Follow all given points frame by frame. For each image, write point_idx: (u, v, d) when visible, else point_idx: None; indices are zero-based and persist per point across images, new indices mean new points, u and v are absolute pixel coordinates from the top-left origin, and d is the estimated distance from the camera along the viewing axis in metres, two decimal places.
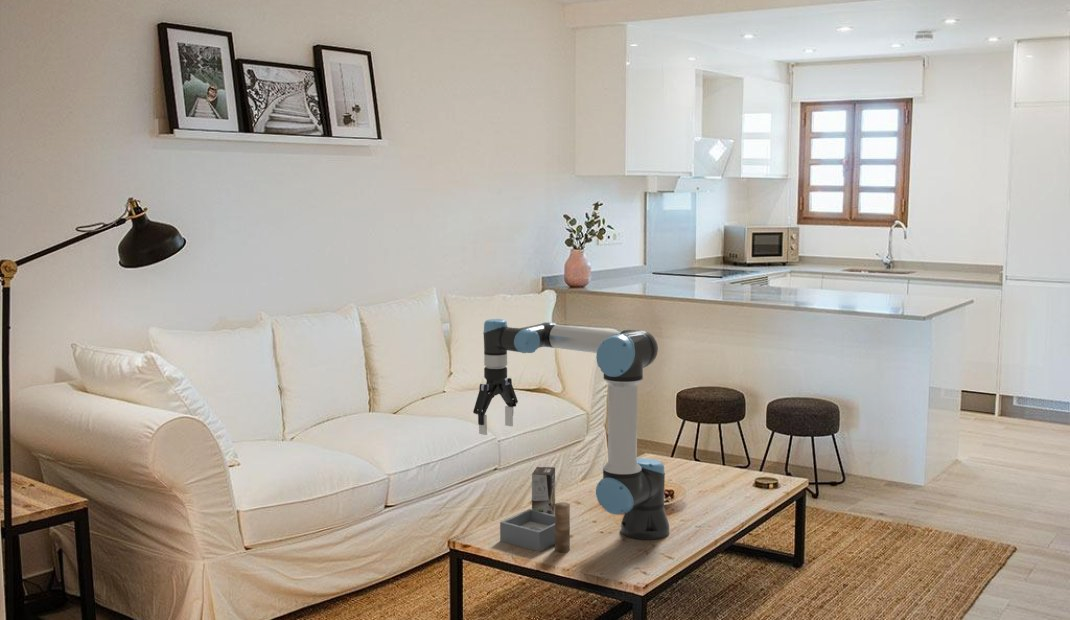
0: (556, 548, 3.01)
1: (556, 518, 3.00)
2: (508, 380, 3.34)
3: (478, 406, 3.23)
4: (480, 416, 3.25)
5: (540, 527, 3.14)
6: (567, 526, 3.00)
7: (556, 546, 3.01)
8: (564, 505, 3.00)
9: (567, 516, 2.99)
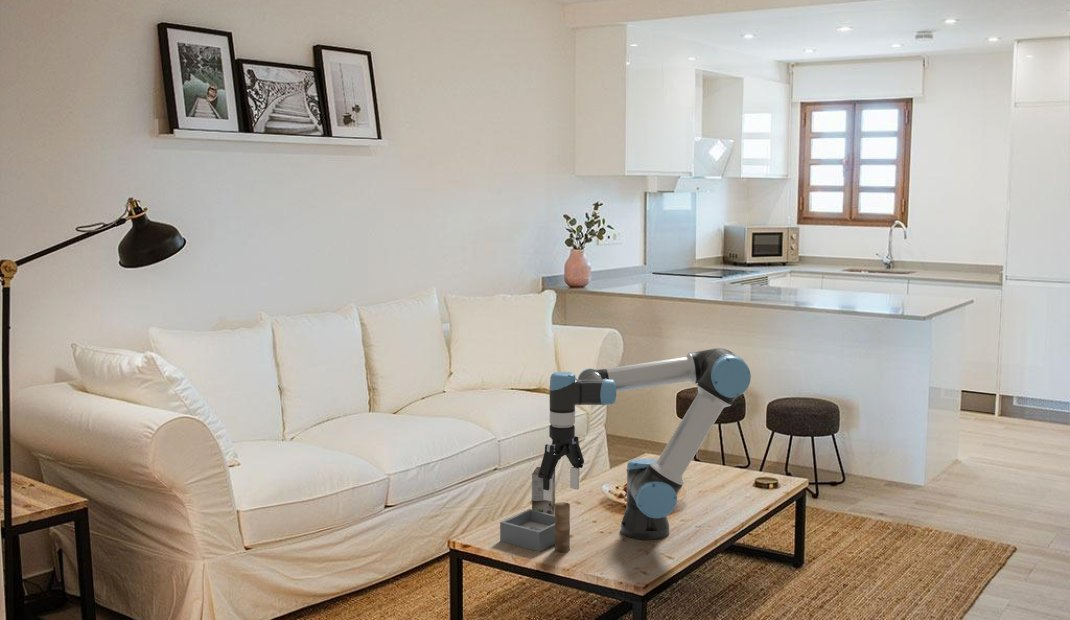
0: (556, 548, 3.01)
1: (556, 518, 3.00)
2: (575, 439, 3.02)
3: (544, 469, 2.91)
4: (545, 480, 2.92)
5: (540, 527, 3.14)
6: (567, 526, 3.00)
7: (556, 546, 3.01)
8: (564, 505, 3.00)
9: (567, 516, 2.99)
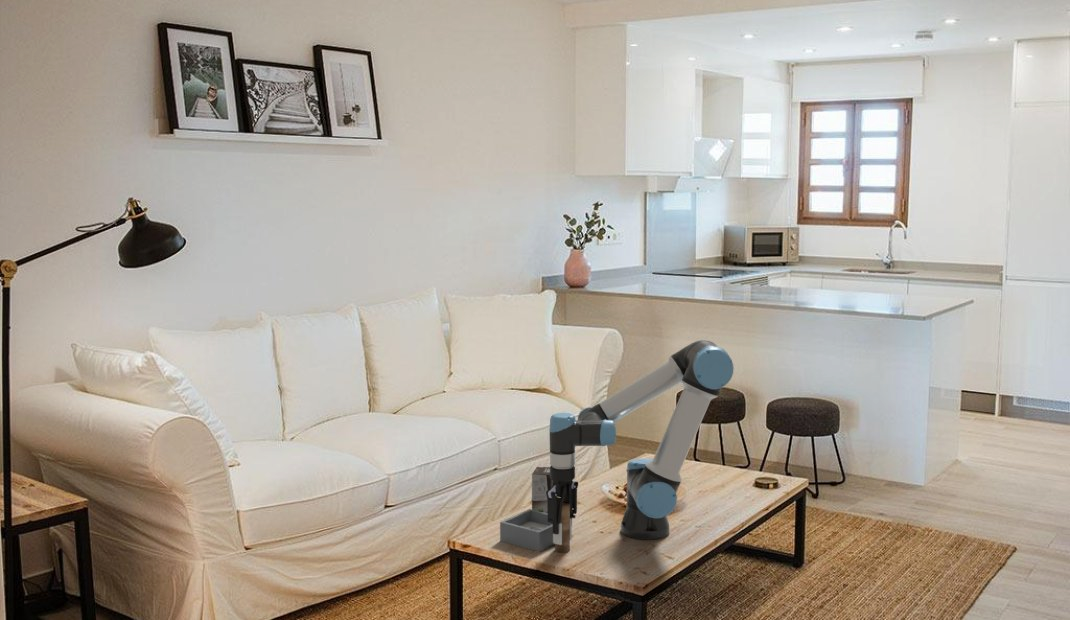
0: (556, 548, 3.01)
1: None
2: (575, 483, 3.04)
3: (551, 515, 2.96)
4: (555, 525, 2.98)
5: (540, 527, 3.14)
6: (567, 526, 3.00)
7: (556, 546, 3.01)
8: (564, 505, 3.00)
9: (567, 516, 2.99)
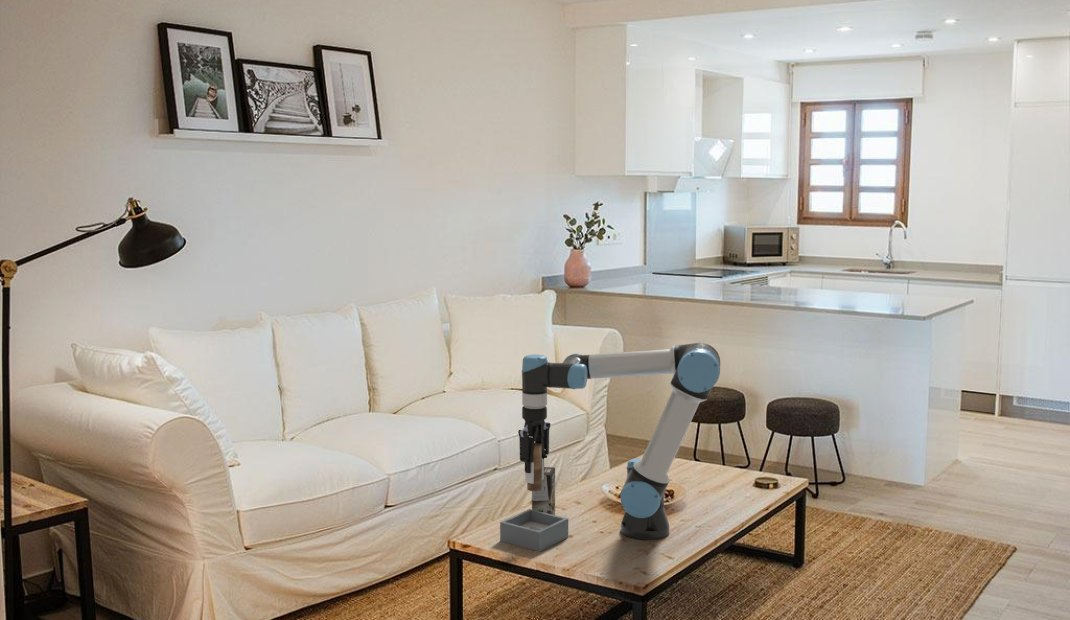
0: (528, 487, 3.07)
1: None
2: (547, 424, 3.10)
3: (523, 454, 3.02)
4: (527, 464, 3.04)
5: (540, 527, 3.14)
6: (539, 465, 3.06)
7: (528, 485, 3.07)
8: (536, 444, 3.06)
9: (539, 455, 3.06)
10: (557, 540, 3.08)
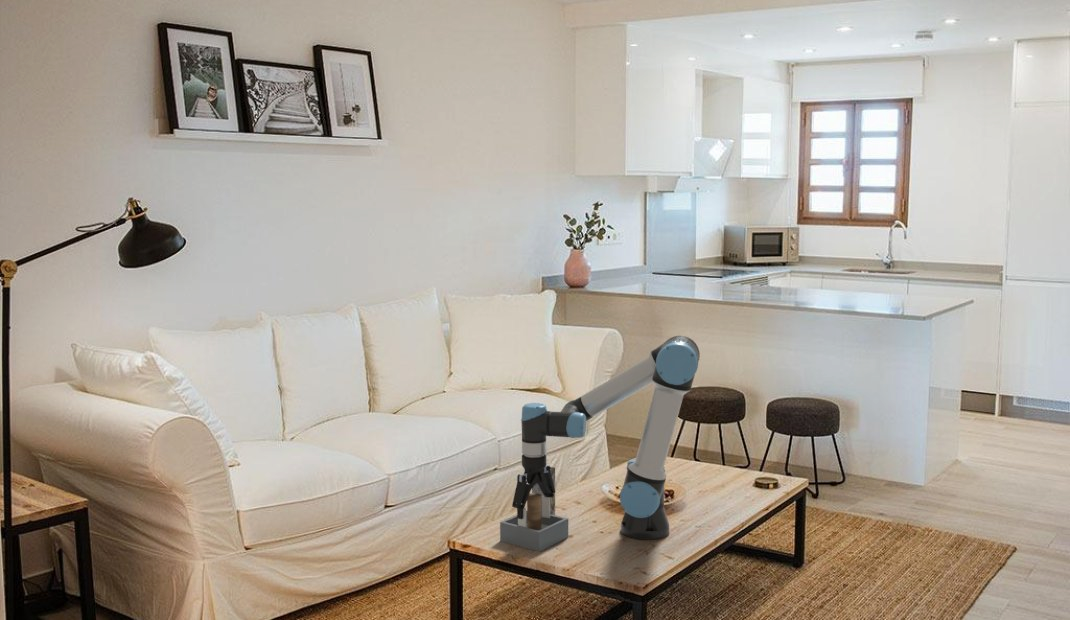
0: None
1: (528, 508, 3.09)
2: (547, 468, 3.12)
3: (517, 499, 3.02)
4: (519, 510, 3.03)
5: None
6: (539, 516, 3.08)
7: None
8: (536, 495, 3.09)
9: (539, 506, 3.08)
10: (557, 540, 3.08)
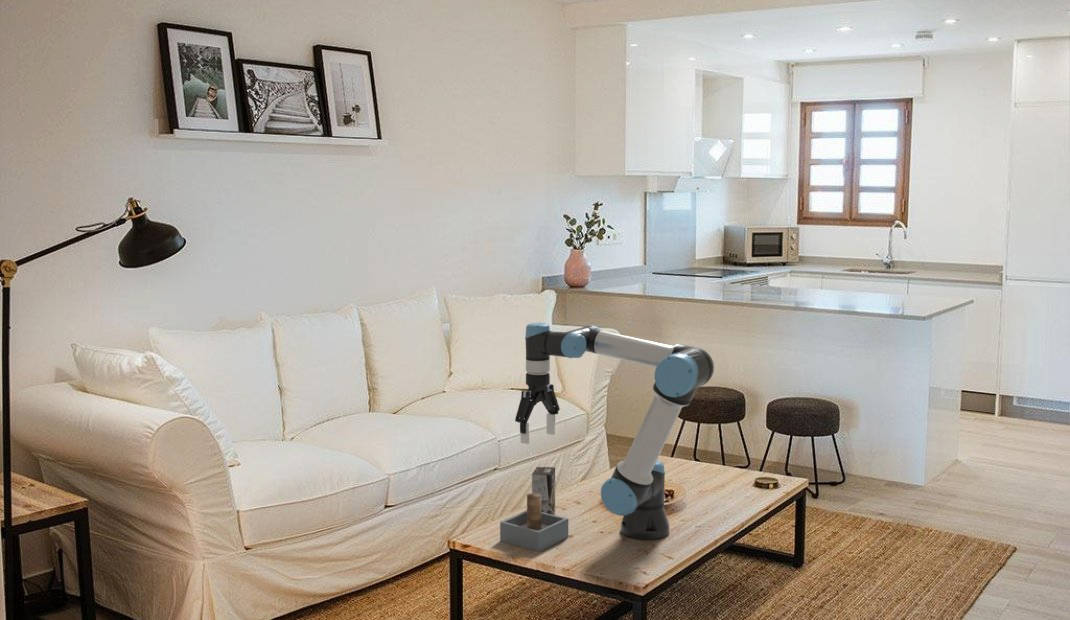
0: None
1: (528, 508, 3.09)
2: (550, 386, 3.20)
3: (520, 414, 3.10)
4: (522, 424, 3.11)
5: None
6: (539, 516, 3.08)
7: None
8: (536, 495, 3.09)
9: (539, 506, 3.08)
10: (557, 540, 3.08)
